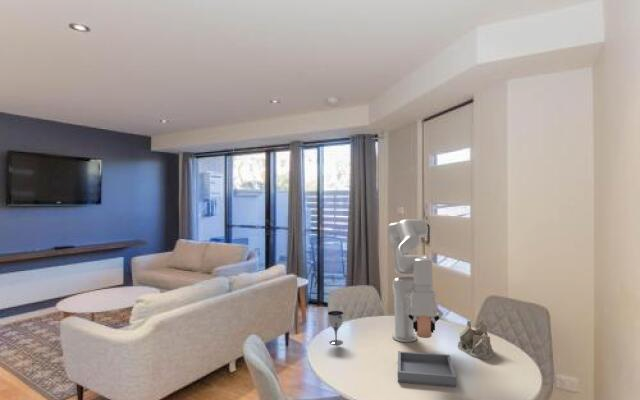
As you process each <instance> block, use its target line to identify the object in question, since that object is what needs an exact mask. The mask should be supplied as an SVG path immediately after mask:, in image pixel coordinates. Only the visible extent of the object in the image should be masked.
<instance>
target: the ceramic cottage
mask: <svg viewBox="0 0 640 400" xmlns="http://www.w3.org/2000/svg"><path fill="white" fill-rule="evenodd" d="M484 321H485V320H484V318H483V317H481V318H480V319H479V322H475V329H472V323H471V322H472V321H471V320H467V321H466V322H467V323H466V327H465V328H464V329H463V330H462V331H461V332H460V333H459V341H458V342H457V347H458V350H460V351H461V352H464V353H465V354H467V355H468V356H470V357H472V358H476V359H483V360H489V359H490V358H492V357H493V356H494V353H495V352H494V349H493V347H492V344H491V336H489V335H488V324H486V323H485V322H484Z"/></svg>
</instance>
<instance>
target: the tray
mask: <svg viewBox="0 0 640 400" xmlns="http://www.w3.org/2000/svg"><path fill="white" fill-rule="evenodd" d="M456 374H457V373H456V371H455V369H454V365H453V362H452V358H451V355H450V354H445V353H443V354H442V353H441V354H440V353H431V352H430V353H428V352H427V353H426V352H416V351H415V352H414V351H403V350H402V351H397V383H402V384H403V383H404V384H415V385H426V386H437V387H449V388H457V375H456Z"/></svg>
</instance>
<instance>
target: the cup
mask: <svg viewBox="0 0 640 400" xmlns="http://www.w3.org/2000/svg"><path fill="white" fill-rule="evenodd" d="M431 321H432V319H431V317H427V316H420V317H419V316H417V319H416V322H417V332H416V335H417V338H418V337H419V338H422V339H429V338H431V337H432V335H433V333H432V332H431Z"/></svg>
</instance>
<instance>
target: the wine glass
mask: <svg viewBox="0 0 640 400" xmlns="http://www.w3.org/2000/svg"><path fill="white" fill-rule="evenodd" d="M327 320H328V323H329V324H328V325H329V326H330V327H331V328H332V329H333V331H334V335H335V337H334V339H331V340H330V341H329V342H328V343H329V344H330V345H332V346H340V345H343V344H344V341H343V340H341V339H338V331H339V329H340V328H341V327H342V325H343V324H344V311H341V310H329V311H328V312H327Z"/></svg>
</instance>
